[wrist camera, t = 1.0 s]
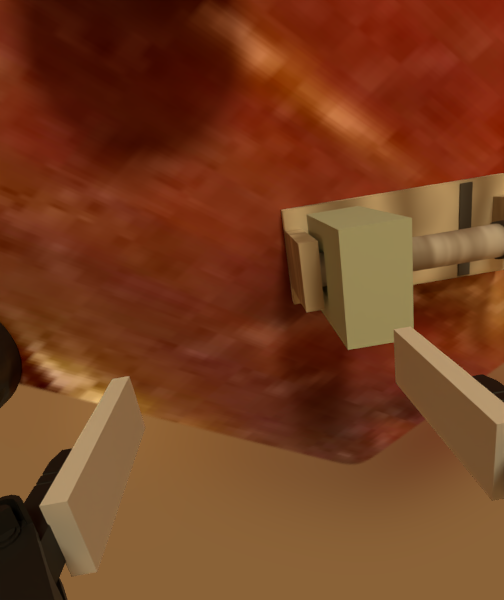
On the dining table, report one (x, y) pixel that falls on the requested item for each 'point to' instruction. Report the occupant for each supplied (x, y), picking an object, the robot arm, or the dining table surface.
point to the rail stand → (425, 233)
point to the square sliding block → (365, 273)
